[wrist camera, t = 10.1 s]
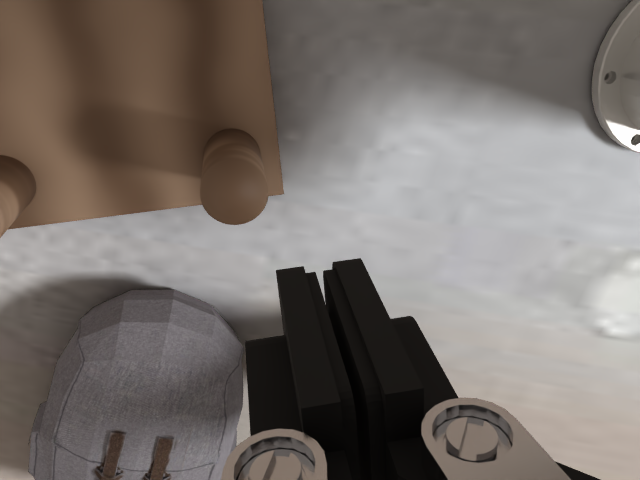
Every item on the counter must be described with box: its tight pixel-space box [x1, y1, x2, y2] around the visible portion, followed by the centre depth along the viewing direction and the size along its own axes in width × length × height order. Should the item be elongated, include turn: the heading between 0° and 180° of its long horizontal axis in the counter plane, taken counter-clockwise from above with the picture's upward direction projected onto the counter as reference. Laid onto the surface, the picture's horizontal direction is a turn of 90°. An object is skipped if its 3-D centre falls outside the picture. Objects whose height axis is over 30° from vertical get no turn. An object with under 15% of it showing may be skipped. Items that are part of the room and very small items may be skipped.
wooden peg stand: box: [0, 0, 284, 238], centre depth 31 cm, size 20×20×10 cm
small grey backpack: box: [28, 290, 244, 480], centre depth 42 cm, size 15×8×20 cm
